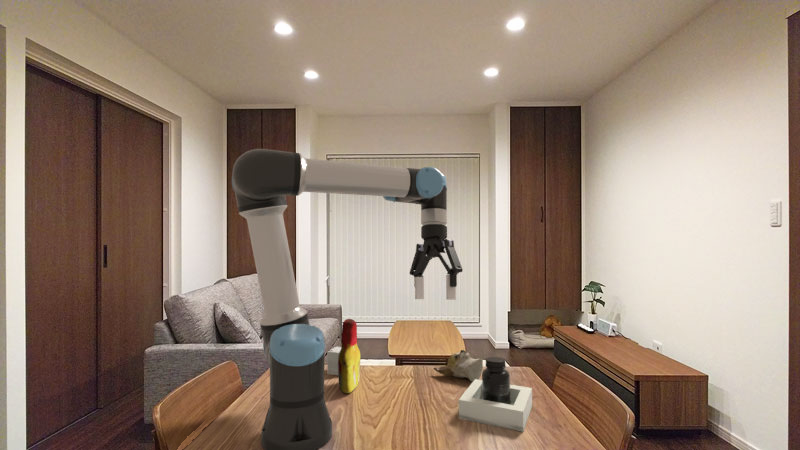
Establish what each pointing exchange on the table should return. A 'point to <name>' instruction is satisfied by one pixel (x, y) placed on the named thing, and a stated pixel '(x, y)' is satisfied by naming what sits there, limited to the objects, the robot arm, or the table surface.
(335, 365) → the skincare box
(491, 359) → the supplement bottle
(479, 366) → the ceramic sculpture
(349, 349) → the bottle
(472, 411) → the holder
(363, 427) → the table surface
